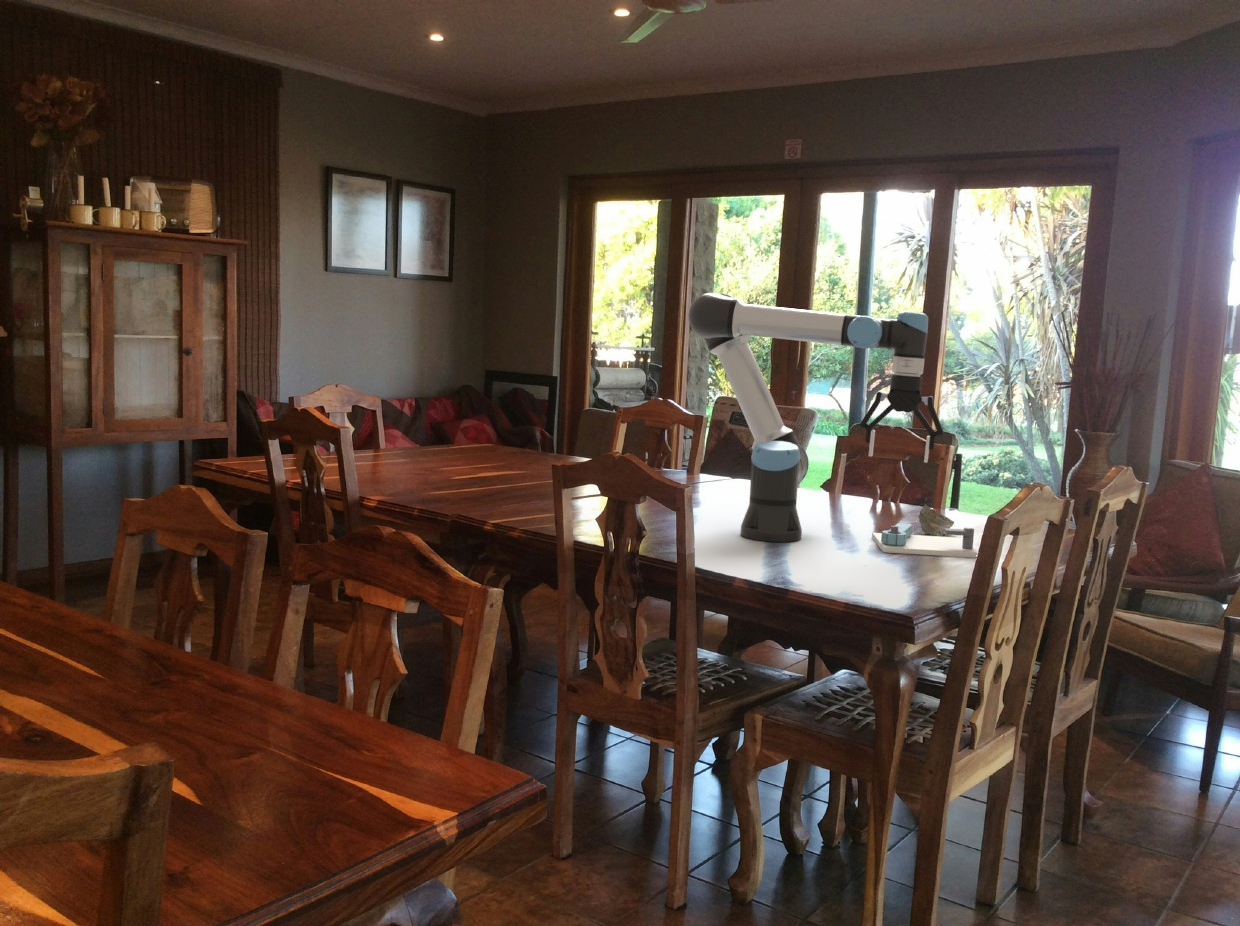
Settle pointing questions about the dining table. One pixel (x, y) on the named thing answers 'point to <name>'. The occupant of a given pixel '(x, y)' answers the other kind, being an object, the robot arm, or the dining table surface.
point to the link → (897, 535)
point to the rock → (933, 522)
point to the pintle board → (933, 543)
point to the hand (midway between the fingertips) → (897, 459)
